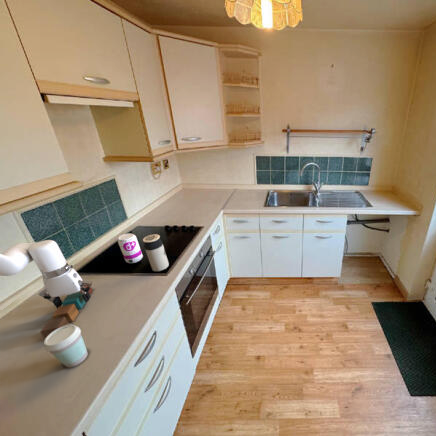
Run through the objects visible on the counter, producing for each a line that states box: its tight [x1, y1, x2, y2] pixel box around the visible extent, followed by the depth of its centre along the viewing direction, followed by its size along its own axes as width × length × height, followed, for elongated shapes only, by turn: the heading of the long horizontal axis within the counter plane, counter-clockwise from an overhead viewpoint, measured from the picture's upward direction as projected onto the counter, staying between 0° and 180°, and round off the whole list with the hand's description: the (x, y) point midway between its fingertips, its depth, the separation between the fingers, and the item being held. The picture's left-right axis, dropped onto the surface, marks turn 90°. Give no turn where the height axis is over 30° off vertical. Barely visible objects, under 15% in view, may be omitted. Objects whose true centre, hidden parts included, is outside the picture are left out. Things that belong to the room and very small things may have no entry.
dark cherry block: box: [72, 285, 93, 295], centre depth 102 cm, size 5×5×5 cm
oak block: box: [51, 304, 80, 324], centre depth 90 cm, size 5×5×5 cm
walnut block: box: [40, 317, 71, 340], centre depth 84 cm, size 5×5×5 cm
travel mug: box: [142, 233, 170, 272], centre depth 117 cm, size 8×8×18 cm
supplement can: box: [117, 232, 144, 264], centre depth 125 cm, size 8×8×15 cm
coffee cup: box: [43, 324, 89, 368], centre depth 74 cm, size 8×9×12 cm
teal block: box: [61, 293, 86, 311], centre depth 96 cm, size 5×5×5 cm
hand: (74, 302), depth 97 cm, fingers open, 9 cm apart
